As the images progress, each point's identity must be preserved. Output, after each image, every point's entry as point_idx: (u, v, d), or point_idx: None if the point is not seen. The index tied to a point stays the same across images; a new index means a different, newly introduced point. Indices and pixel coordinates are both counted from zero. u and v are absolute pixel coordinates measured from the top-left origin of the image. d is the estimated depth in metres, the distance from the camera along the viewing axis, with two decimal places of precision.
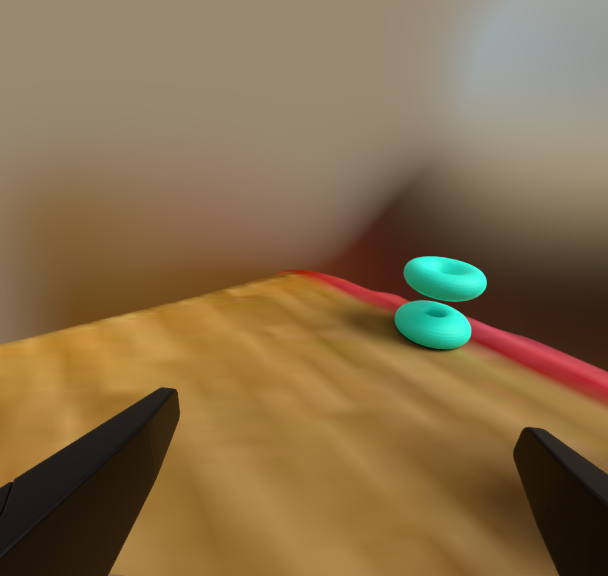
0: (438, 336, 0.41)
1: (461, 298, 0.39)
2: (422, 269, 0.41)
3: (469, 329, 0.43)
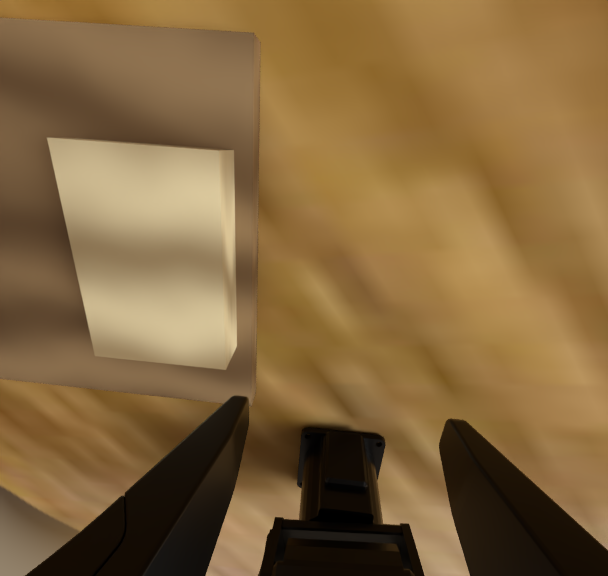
0: None
1: None
2: None
3: None
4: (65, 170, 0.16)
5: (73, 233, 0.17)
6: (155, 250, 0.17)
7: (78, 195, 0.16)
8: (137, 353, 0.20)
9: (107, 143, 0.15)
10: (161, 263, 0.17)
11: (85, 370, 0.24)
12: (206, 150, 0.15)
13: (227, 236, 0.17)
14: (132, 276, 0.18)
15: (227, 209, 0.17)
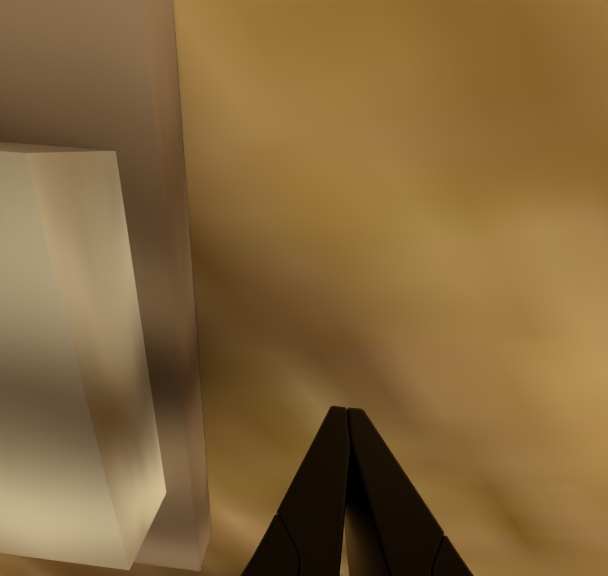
0: None
1: None
2: None
3: None
4: None
5: None
6: None
7: None
8: None
9: None
10: None
11: None
12: None
13: (106, 337, 0.08)
14: None
15: (99, 282, 0.08)
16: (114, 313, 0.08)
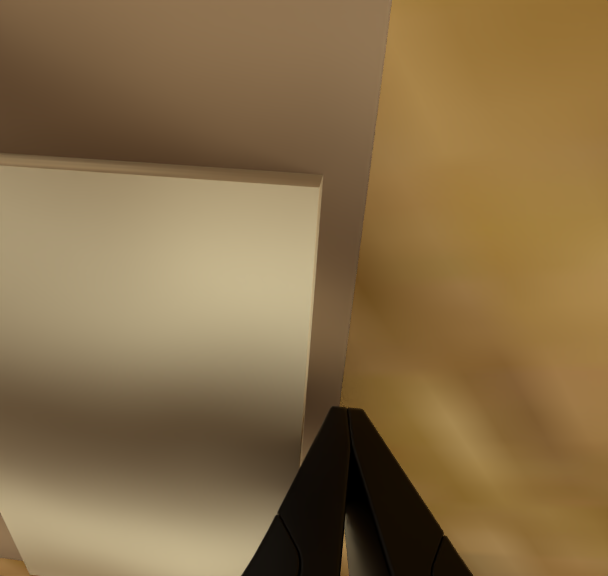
0: None
1: None
2: None
3: None
4: None
5: None
6: (141, 414, 0.07)
7: None
8: None
9: None
10: (156, 439, 0.07)
11: None
12: (281, 186, 0.05)
13: None
14: (92, 458, 0.08)
15: (311, 314, 0.07)
16: (309, 345, 0.08)
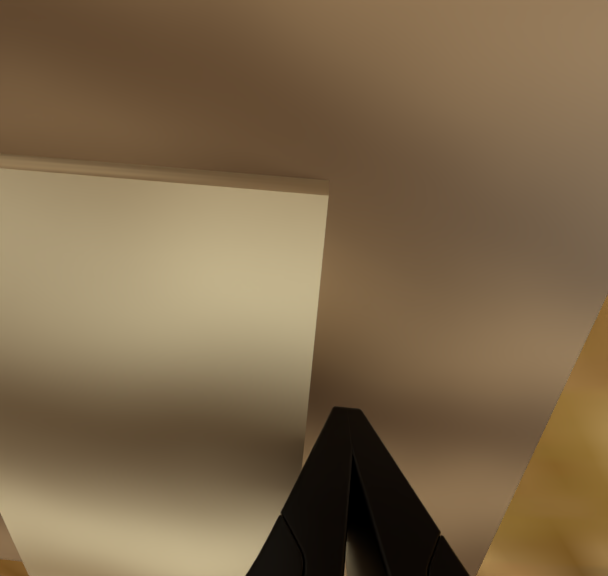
0: None
1: None
2: None
3: None
4: None
5: None
6: (146, 417, 0.07)
7: None
8: None
9: (6, 172, 0.05)
10: (159, 441, 0.07)
11: None
12: (291, 194, 0.05)
13: None
14: (95, 460, 0.08)
15: None
16: None
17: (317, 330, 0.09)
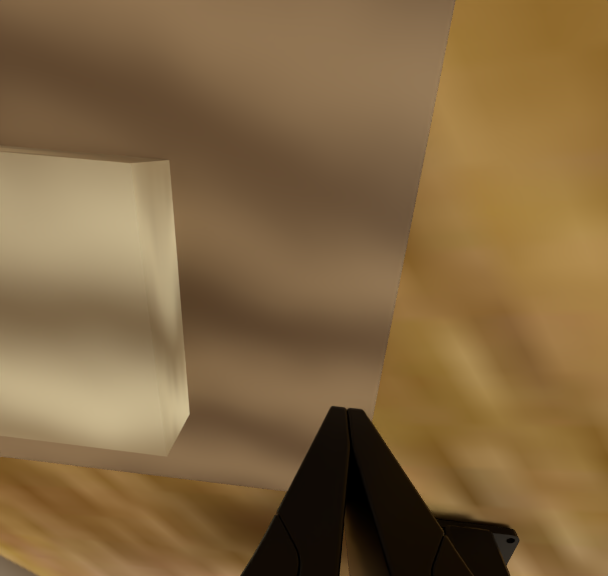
0: None
1: None
2: None
3: None
4: None
5: None
6: (54, 303, 0.12)
7: None
8: (47, 433, 0.14)
9: None
10: (64, 321, 0.12)
11: (140, 453, 0.18)
12: (112, 162, 0.10)
13: (160, 282, 0.12)
14: (27, 336, 0.12)
15: (158, 244, 0.12)
16: (165, 267, 0.12)
17: (228, 266, 0.13)
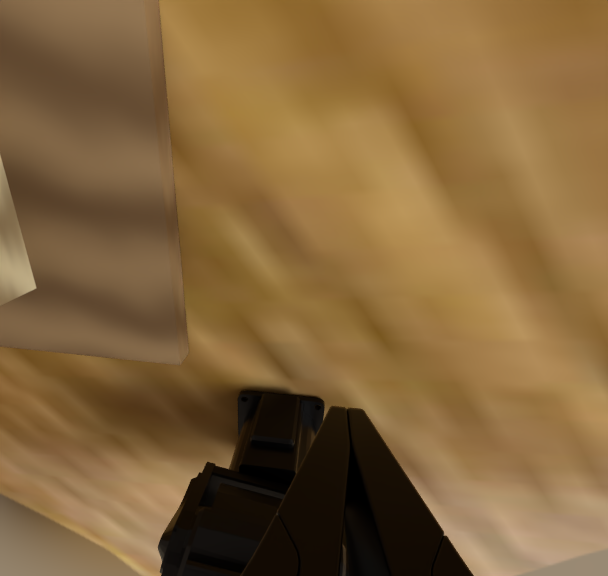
0: None
1: None
2: None
3: None
4: None
5: None
6: None
7: None
8: None
9: None
10: None
11: (6, 327, 0.23)
12: None
13: None
14: None
15: None
16: None
17: (37, 155, 0.18)
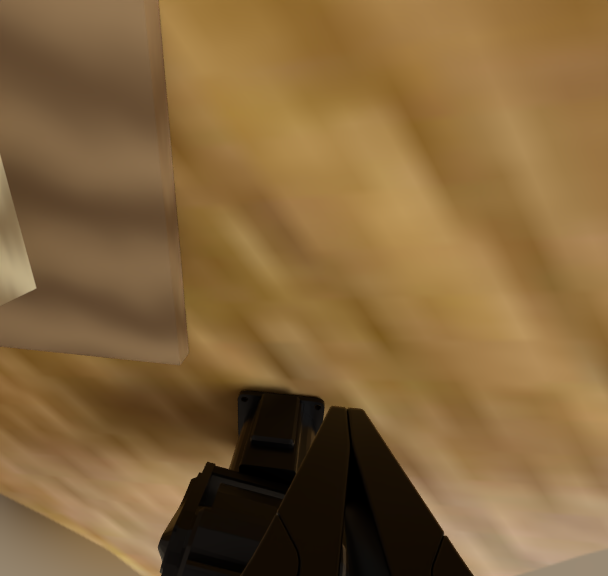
0: None
1: None
2: None
3: None
4: None
5: None
6: None
7: None
8: None
9: None
10: None
11: (6, 327, 0.23)
12: None
13: None
14: None
15: None
16: None
17: (37, 155, 0.18)
